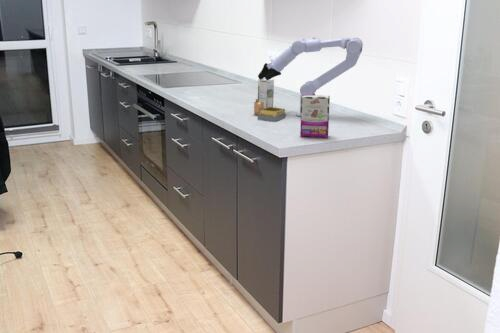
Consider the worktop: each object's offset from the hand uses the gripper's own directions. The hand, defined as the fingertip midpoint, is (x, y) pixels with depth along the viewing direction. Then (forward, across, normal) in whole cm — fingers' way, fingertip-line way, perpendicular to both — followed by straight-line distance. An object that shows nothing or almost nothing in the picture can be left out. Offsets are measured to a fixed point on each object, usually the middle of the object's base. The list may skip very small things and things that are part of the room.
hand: (262, 78), depth 266 cm
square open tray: (+5, +7, +20) cm, 22 cm away
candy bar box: (-13, +28, +42) cm, 52 cm away
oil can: (+11, +2, +13) cm, 17 cm away
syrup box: (+12, -15, +8) cm, 21 cm away
